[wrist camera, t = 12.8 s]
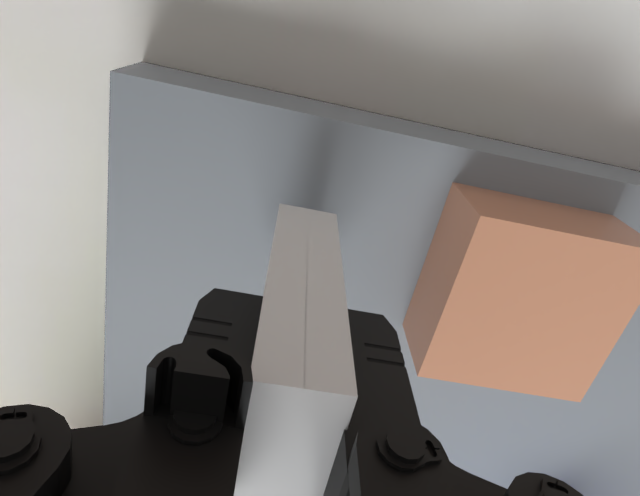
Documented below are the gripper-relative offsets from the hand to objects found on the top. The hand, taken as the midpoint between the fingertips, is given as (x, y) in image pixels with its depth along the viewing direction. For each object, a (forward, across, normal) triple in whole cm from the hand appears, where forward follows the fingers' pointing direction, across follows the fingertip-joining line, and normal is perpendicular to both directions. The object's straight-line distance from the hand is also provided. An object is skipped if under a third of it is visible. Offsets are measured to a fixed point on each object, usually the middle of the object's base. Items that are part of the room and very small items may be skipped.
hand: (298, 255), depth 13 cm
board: (+4, +5, -4) cm, 8 cm away
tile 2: (+2, +6, 0) cm, 7 cm away
